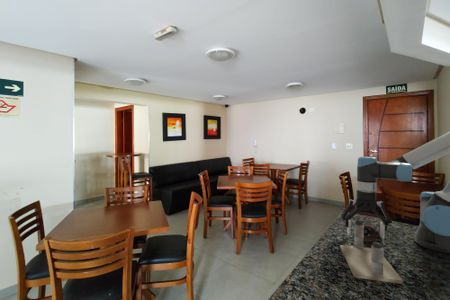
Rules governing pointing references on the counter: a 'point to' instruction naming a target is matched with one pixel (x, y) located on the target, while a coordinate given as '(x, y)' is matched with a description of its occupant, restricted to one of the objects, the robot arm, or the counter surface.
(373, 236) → the pottery mug
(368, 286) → the counter surface
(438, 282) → the counter surface
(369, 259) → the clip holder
